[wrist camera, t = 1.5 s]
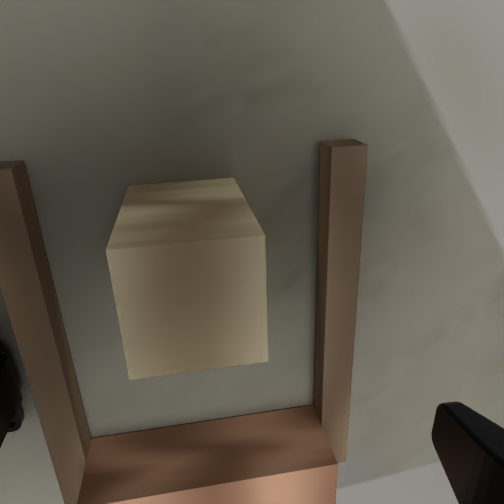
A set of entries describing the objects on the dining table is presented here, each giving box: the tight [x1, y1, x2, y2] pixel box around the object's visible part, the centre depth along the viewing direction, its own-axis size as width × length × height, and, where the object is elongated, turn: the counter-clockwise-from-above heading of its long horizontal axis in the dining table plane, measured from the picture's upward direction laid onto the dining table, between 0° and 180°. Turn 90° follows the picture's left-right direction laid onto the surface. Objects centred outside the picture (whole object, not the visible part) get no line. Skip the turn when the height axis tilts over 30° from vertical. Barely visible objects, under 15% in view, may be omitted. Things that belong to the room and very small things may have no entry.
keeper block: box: [106, 178, 268, 380], centre depth 16 cm, size 4×4×7 cm
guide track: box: [0, 139, 368, 504], centre depth 20 cm, size 15×18×4 cm
